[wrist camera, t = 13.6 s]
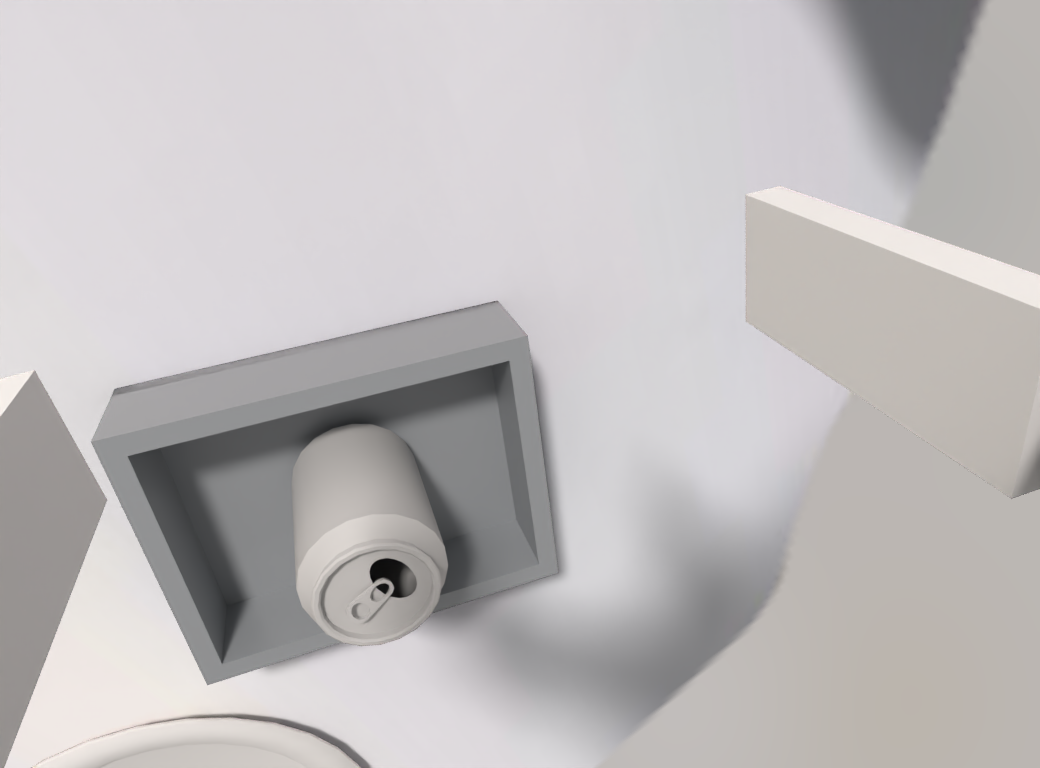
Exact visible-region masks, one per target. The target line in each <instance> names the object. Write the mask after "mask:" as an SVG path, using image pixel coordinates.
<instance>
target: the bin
mask: <svg viewBox="0 0 1040 768" xmlns="http://www.w3.org/2000/svg"><path fill="white" fill-rule="evenodd" d="M349 424H373V425H376V426H379V427H382V428H385V429H387V430H390V431H392V432H393V433H394V434H396V435H397V436H398V437H400V438H401V439H402V440H404V441H405V443H406V444H407V446H408V447H409V449H410V451H411V452H412V454H413V455H414V458H415V461H416V464H417V467H418V470H419V473H420V476H421V479H422V482H423V485H424V488H425V491H426V494H427V496H428V499H429V502H430V505H431V508H432V511H433V514H434V517H435V520H436V523H437V526H438V529H439V532H440V535H441V537H442V540H443V543H444V546H445V551H446V556H447V561H448V569H447V574H446V579H445V584H444V585H443V587H442V589H441V593H440V598H439V602H438V603H437V605H436V607H435V609H434V610H433V612H432V613H435V612H438V611H441V610H444V609H447V608H450V607H453V606H456V605H460V604H463V603H466V602H469V601H472V600H475V599H478V598H481V597H485V596H488V595H491V594H494V593H497V592H500V591H503V590H506V589H510V588H513V587H516V586H519V585H522V584H525V583H528V582H531V581H535V580H538V579H541V578H544V577H547V576H550V575H553V574H556V573H558V565H557V558H556V550H555V542H554V534H553V527H552V519H551V511H550V504H549V496H548V488H547V480H546V473H545V465H544V457H543V450H542V442H541V434H540V427H539V419H538V411H537V403H536V396H535V388H534V380H533V373H532V365H531V357H530V349H529V342H528V335H527V334H526V333H525V332H524V331H523V330H522V328H521V327H520V326H519V325H518V324H517V323H516V321H515V320H514V319H513V318H512V317H511V316H510V314H509V313H508V312H507V311H506V310H505V309H504V308H503V306H502V305H501V304H500V303H499V302H498V301H494V302H490V303H485V304H481V305H477V306H472V307H468V308H464V309H459V310H455V311H451V312H446V313H442V314H438V315H433V316H429V317H425V318H420V319H416V320H412V321H407V322H403V323H399V324H394V325H390V326H386V327H381V328H377V329H373V330H368V331H364V332H360V333H355V334H351V335H347V336H342V337H338V338H334V339H329V340H325V341H321V342H316V343H312V344H307V345H303V346H299V347H294V348H290V349H286V350H281V351H277V352H273V353H268V354H264V355H260V356H255V357H251V358H247V359H242V360H238V361H234V362H229V363H225V364H221V365H216V366H212V367H208V368H203V369H199V370H195V371H190V372H186V373H182V374H177V375H173V376H169V377H164V378H160V379H156V380H151V381H147V382H143V383H138V384H134V385H130V386H125V387H121V388H117V389H115V390H114V392H113V394H112V396H111V399H110V401H109V403H108V405H107V407H106V410H105V412H104V414H103V416H102V419H101V421H100V423H99V425H98V428H97V430H96V432H95V434H94V436H93V439H92V441H91V443H92V445H93V447H94V449H95V451H96V453H97V455H98V457H99V460H100V462H101V464H102V466H103V468H104V470H105V472H106V474H107V476H108V478H109V480H110V483H111V485H112V487H113V489H114V491H115V493H116V495H117V497H118V499H119V501H120V503H121V506H122V508H123V510H124V512H125V514H126V516H127V518H128V520H129V522H130V524H131V526H132V529H133V531H134V533H135V535H136V537H137V539H138V541H139V543H140V545H141V547H142V549H143V552H144V554H145V556H146V558H147V560H148V562H149V564H150V566H151V568H152V570H153V572H154V575H155V577H156V579H157V581H158V583H159V585H160V587H161V589H162V591H163V593H164V595H165V598H166V600H167V602H168V604H169V606H170V608H171V610H172V612H173V614H174V616H175V618H176V621H177V623H178V625H179V627H180V629H181V631H182V633H183V635H184V637H185V639H186V641H187V644H188V646H189V648H190V650H191V652H192V654H193V656H194V658H195V660H196V662H197V664H198V667H199V669H200V671H201V673H202V675H203V677H204V679H205V681H206V683H207V685H210V684H213V683H216V682H219V681H222V680H225V679H228V678H232V677H235V676H238V675H241V674H244V673H247V672H250V671H253V670H257V669H260V668H263V667H266V666H269V665H272V664H275V663H278V662H281V661H285V660H288V659H291V658H294V657H297V656H300V655H303V654H306V653H310V652H313V651H316V650H319V649H322V648H325V647H328V646H331V645H335V644H338V643H341V642H340V641H338V640H336V639H334V638H332V637H331V636H329V635H327V634H326V633H325V632H324V631H323V630H322V629H321V627H320V626H319V625H318V624H317V623H316V622H315V621H314V620H313V619H312V618H311V617H310V615H309V614H308V613H307V612H306V611H305V610H304V609H303V608H302V605H301V602H300V599H299V596H298V593H297V590H296V572H295V550H294V528H293V507H292V475H293V467H294V465H295V463H296V461H297V459H298V457H299V455H300V453H301V452H302V451H303V450H304V449H305V448H306V446H307V445H308V444H309V443H310V442H311V441H312V440H313V439H314V438H316V437H318V436H320V435H321V434H323V433H325V432H327V431H329V430H330V429H332V428H336V427H340V426H345V425H349Z"/></svg>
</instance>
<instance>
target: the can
mask: <svg viewBox="0 0 1040 768" xmlns="http://www.w3.org/2000/svg"><path fill="white" fill-rule="evenodd" d="M292 507H293V528H294V550H295V572H296V590H297V593H298V596H299V599H300V602H301V605H302V608H303V609H304V610H305V611H306V612H307V613H308V614H309V615H310V617H311V618H312V619H313V620H314V621H315V622H316V623H317V624H318V625H319V626H320V627H321V629H322V630H323V631H324V632H325V633H326V634H327V635H329V636H331V637H332V638H334V639H336V640H338V641H340V642H342V643H347V644H353V645H358V646H368V645H381V644H384V643H387V642H391V641H394V640H397V639H400V638H402V637H403V636H405V635H407V634H409V633H410V632H412V631H414V630H416V629H417V628H418V627H419V626H420V625H421V624H422V623H423V622H424V621H425V620H426V619H428V618H429V617H430V615H431V614H432V612H433V610H434V609H435V607H436V605H437V603H438V602H439V598H440V593H441V589H442V587H443V585H444V584H445V579H446V574H447V569H448V561H447V556H446V551H445V546H444V543H443V540H442V537H441V535H440V532H439V529H438V526H437V523H436V520H435V517H434V514H433V511H432V508H431V505H430V502H429V499H428V496H427V494H426V491H425V488H424V485H423V482H422V479H421V476H420V473H419V470H418V467H417V464H416V461H415V458H414V455H413V454H412V452H411V451H410V449H409V447H408V446H407V444H406V443H405V441H404V440H402V439H401V438H400V437H398V436H397V435H396V434H394V433H393V432H392V431H390V430H387V429H385V428H382V427H379V426H376V425H373V424H349V425H345V426H340V427H336V428H332V429H330V430H329V431H327V432H325V433H323V434H321V435H320V436H318V437H316V438H314V439H313V440H312V441H311V442H310V443H309V444H308V445H307V446H306V448H305V449H304V450H303V451H302V452H301V453H300V455H299V457H298V459H297V461H296V463H295V465H294V467H293V475H292Z"/></svg>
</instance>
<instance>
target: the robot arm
mask: <svg viewBox="0 0 1040 768" xmlns="http://www.w3.org/2000/svg"><path fill="white" fill-rule="evenodd" d="M746 322H747V323H749V324H750V325H752V326H753V327H755V328H756V329H758V330H759V331H761V332H762V333H764V334H765V335H767V336H768V337H770V338H771V339H773V340H774V341H776V342H777V343H779V344H780V345H782V346H783V347H785V348H786V349H788V350H789V351H791V352H792V353H794V354H795V355H797V356H798V357H800V358H801V359H803V360H804V361H806V362H807V363H809V364H810V365H812V366H813V367H815V368H816V369H818V370H819V371H821V372H822V373H824V374H825V375H827V376H828V377H830V378H831V379H833V380H834V381H836V382H837V383H839V384H840V385H842V386H843V387H845V388H846V389H848V390H849V391H851V392H852V393H854V394H855V395H857V396H858V397H860V398H861V399H863V400H864V401H866V402H868V403H869V404H870V405H872V406H873V407H875V408H876V409H878V410H879V411H881V412H882V413H884V414H885V415H887V416H888V417H890V418H891V419H893V420H894V421H896V422H897V423H899V424H900V425H902V426H903V427H905V428H906V429H908V430H909V431H911V432H912V433H914V434H915V435H917V436H918V437H920V438H921V439H923V440H924V441H926V442H927V443H929V444H930V445H932V446H933V447H935V448H936V449H938V450H939V451H941V452H942V453H944V454H945V455H947V456H948V457H950V458H951V459H953V460H954V461H956V462H957V463H959V464H960V465H962V466H963V467H965V468H966V469H968V470H970V471H971V472H972V473H974V474H975V475H977V476H978V477H980V478H981V479H983V480H984V481H986V482H987V483H989V484H990V485H992V486H993V487H995V488H996V489H998V490H999V491H1001V492H1002V493H1004V494H1005V495H1007V496H1008V497H1010V498H1011V499H1012V498H1015V497H1018V496H1021V495H1024V494H1027V493H1029V492H1032V491H1035V490H1038V489H1040V275H1038V274H1035V273H1032V272H1030V271H1026V270H1023V269H1021V268H1018V267H1015V266H1012V265H1009V264H1006V263H1003V262H1000V261H997V260H995V259H992V258H989V257H986V256H983V255H980V254H977V253H974V252H971V251H968V250H965V249H963V248H960V247H957V246H954V245H951V244H948V243H945V242H942V241H939V240H936V239H933V238H930V237H927V236H925V235H922V234H919V233H916V232H913V231H910V230H907V229H904V228H901V227H898V226H895V225H893V224H890V223H887V222H884V221H881V220H878V219H875V218H872V217H869V216H866V215H863V214H860V213H858V212H855V211H852V210H849V209H846V208H843V207H840V206H837V205H834V204H831V203H828V202H826V201H823V200H820V199H817V198H814V197H811V196H808V195H805V194H802V193H799V192H796V191H793V190H791V189H788V188H785V187H782V186H778V187H774V188H770V189H766V190H762V191H758V192H754V193H750V194H746ZM106 502H107V499H106V497H105V495H104V493H103V492H102V490H101V488H100V486H99V484H98V483H97V481H96V479H95V477H94V476H93V474H92V472H91V470H90V468H89V467H88V465H87V463H86V461H85V459H84V458H83V456H82V454H81V452H80V450H79V449H78V447H77V445H76V443H75V441H74V440H73V438H72V436H71V434H70V433H69V431H68V429H67V427H66V425H65V424H64V422H63V420H62V418H61V416H60V415H59V413H58V411H57V409H56V407H55V406H54V404H53V402H52V400H51V398H50V397H49V395H48V393H47V391H46V390H45V388H44V386H43V384H42V382H41V381H40V379H39V377H38V375H37V373H36V372H35V370H33V371H29V372H25V373H21V374H17V375H13V376H9V377H4V378H0V768H4V766H5V764H6V761H7V759H8V756H9V753H10V751H11V748H12V746H13V743H14V740H15V738H16V735H17V733H18V730H19V727H20V725H21V722H22V720H23V717H24V714H25V712H26V709H27V707H28V704H29V701H30V699H31V696H32V694H33V691H34V689H35V686H36V683H37V681H38V678H39V676H40V673H41V670H42V668H43V665H44V663H45V660H46V657H47V655H48V652H49V650H50V647H51V644H52V642H53V639H54V637H55V634H56V631H57V629H58V626H59V624H60V621H61V618H62V616H63V613H64V611H65V608H66V605H67V603H68V600H69V598H70V595H71V592H72V590H73V587H74V585H75V582H76V579H77V577H78V574H79V572H80V569H81V567H82V564H83V561H84V559H85V556H86V554H87V551H88V548H89V546H90V543H91V541H92V538H93V535H94V533H95V530H96V528H97V525H98V522H99V520H100V517H101V515H102V512H103V509H104V507H105V504H106Z"/></svg>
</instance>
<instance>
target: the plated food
mask: <svg viewBox="0 0 1040 768" xmlns="http://www.w3.org/2000/svg"><path fill="white" fill-rule="evenodd" d="M31 768H361V767H360V766H359V765H358V764H357V763H356V762H355V761H353V760H352V759H351V758H350V757H349V756H348V755H347V754H345V753H344V752H343V751H342V750H341V749H340V748H338V747H336V746H334V745H332V744H331V743H329V742H327V741H325V740H323V739H321V738H319V737H317V736H315V735H313V734H311V733H309V732H305V731H302V730H298V729H295V728H291V727H288V726H284V725H281V724H278V723H274V722H266V721H258V720H249V719H241V718H232V717H229V718H188V719H180V720H173V721H167V722H160V723H154V724H148V725H141V726H136V727H132V728H129V729H125V730H122V731H119V732H115V733H112V734H108V735H105V736H101V737H98V738H94V739H91V740H88V741H86V742H83V743H81V744H79V745H76V746H74V747H72V748H70V749H67V750H65V751H63V752H61V753H58V754H56V755H54V756H51V757H49V758H47V759H45V760H43V761H41V762H39V763H38V764H36V765H35V766H33V767H31Z"/></svg>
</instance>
